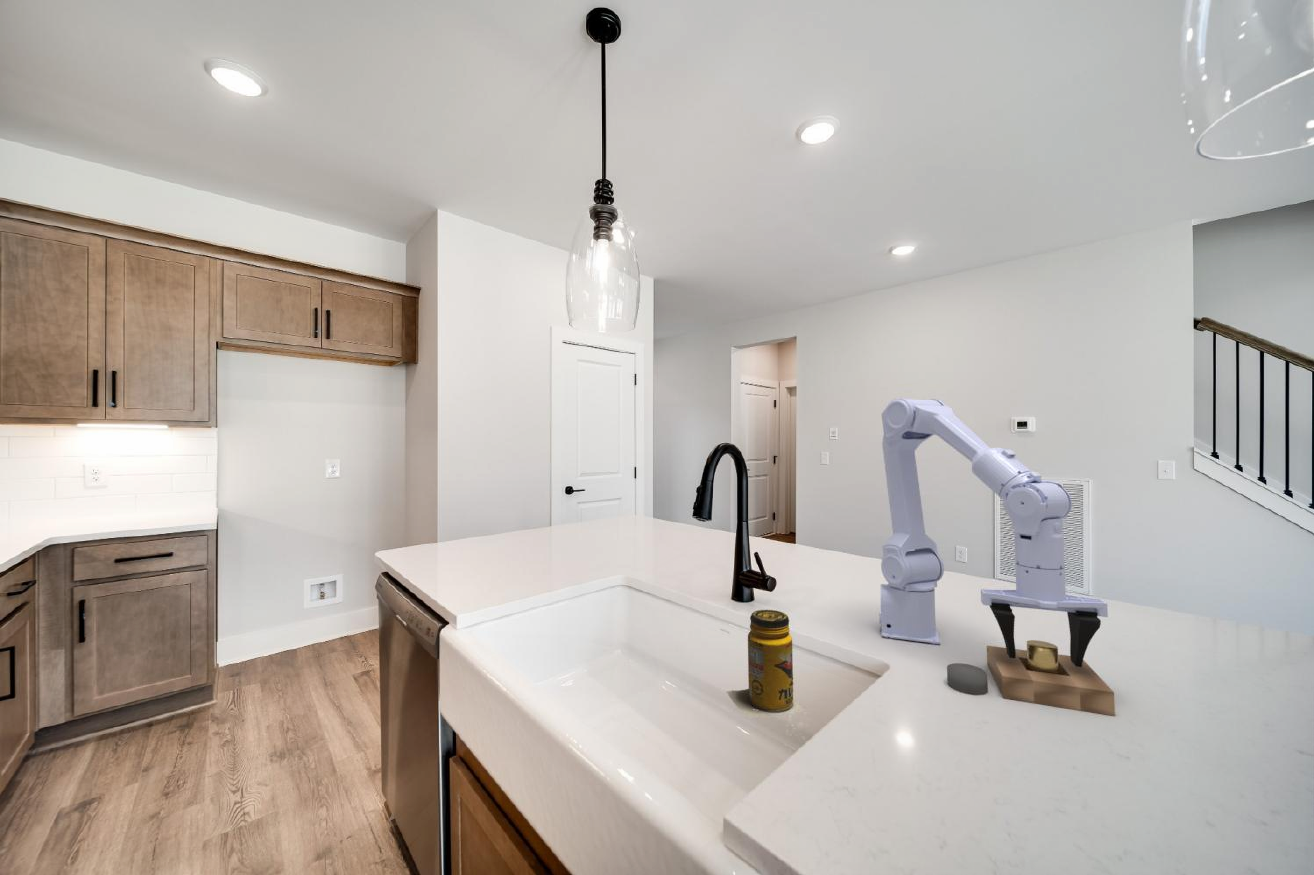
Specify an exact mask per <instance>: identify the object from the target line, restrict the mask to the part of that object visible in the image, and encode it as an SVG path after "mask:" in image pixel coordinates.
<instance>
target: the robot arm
mask: <svg viewBox="0 0 1314 875" xmlns="http://www.w3.org/2000/svg"><path fill="white" fill-rule="evenodd" d="M881 422H882V428H883V436H882V443H881V445H882V452H883V454H882V455H883V461H884V462H883V463H884V470H885V479H886V487H887V493H888V494H887V495H888V503H889V512H890V518H891V528H892V529H891V530H892V535H891V536H890V538H888V539H887V541H886V542H885V543H884V544H883V546H882V559H881V563H880V565H881V566H880V567H881V572H882V576H883V577H884V579H885V581H886V582H887V583H888V584H887V583H886V584H883V583H881V584H880V613H879V614H878V615H879V616H878V617H879V620H878V621H879V624H881V637H883V636H884V637H883V638H888V637H890V638H891V639H897V640H907V641H910V642H911V641H912V642H920V643H927V644H928V643H929V644H935V645H936V644H937V645H940V644H941V639H940V636H939V633H938V629H937V627H936V626H937V625H936V624H937V623H936V622H937V621H936V596H935V594H936V592H935V590H936V588H938V582H939V581H940V580H942V578H943V576H944V574H945V573H944V572H945V567H944V562H943V559H942V558H941V557H940V554H939V551H938V546H937V543H936V541H934V540H933V539H932V538H931V537H929V536H928V535H927V534H926V529H925V528H926V527H925V521H924V514H923V506H922V499H921V490H920V485H919V484H920V483H919V482H920V481H919V477H918V476H919V475H918V468H917V459H916V450H917V449H918V448H919V447H920V445H921V444H922V443H924V442H925V441H927V440H928V439H929V438H931V437H933V436H934V435H935V436H937V437H939V438H940V439H941V440H943V441H944V442H946V444H948V445H949V446H950V447H952V448H953V449H954V450H955V451H956V452H958V453H959V454H960V455H962V456H963V457H965V458H966V459H967V460H968V461H970V463H971V471H972V474H973V475H975V476H976V477H977V478H978V479H979V480H980V481H981V482H982V483H983V484H985V486H987V487H988V488H989V489H990V490H991V491H992V492H994V493H995V494H996V495H997V496H998V497H999V498H1000V499H1002V506H1003V509H1004V511H1005V513H1006V514H1007V515H1008V517H1009V518H1010V521H1011V528H1012V530H1013V532H1014V535H1013V536H1014V560H1015V589H986V588H984V589H983V588H981V589H980V602H981V604H982V605H983V606H987V607H988V606H989V608H990V609H991V612H992V614H993V616H994V617H995V620H996V622H997V625H998V627H999V629H1000V633H1001V634H1002V637H1003V641H1004V645H1005V648H1006V650H1007V654H1008V656H1009V657H1010V658H1015V657H1016V651H1015V649H1016V646H1015V645H1016V643H1015V620H1016V619H1015V618H1016V616H1015V614H1014V613H1013V608H1022V609H1034V610H1043V611H1052V612H1053V611H1054V612H1065V613H1067V614H1066V615H1067V618H1068V620H1067V621H1068V626H1069V627H1068V628H1069V637H1070V639H1069V640H1070V643H1069V645H1070V646H1069V654H1070V655H1069V656H1070V657H1071V662H1072V663H1073V664H1074V665H1075V666H1076V667H1082V663H1083V660H1084V658H1085V654H1086V652H1087V649H1088V646H1089V644H1090V642H1091V641H1092V639H1093V637H1094V636H1095V634H1096V633H1097V632H1098V630H1099V629H1100V628H1101V623H1102V622H1101V619H1100V618H1099V617H1102V618H1108V617H1109V616H1108V615H1109V614H1108V603H1107V602H1106V601H1104V600H1103V599H1100V598H1092V597H1084V596H1083V597H1082V596H1077V595H1071V594H1067V592H1066V589H1067V588H1066V571H1065V570H1066V569H1065V567H1066V566H1065V542H1064V518H1066V517H1067V516H1068V515H1069V514H1070V513H1071V510H1072V505H1073V503H1072V502H1073V500H1072V497H1071V495H1070V493H1069V492H1068V490H1067V489H1065V488H1064V486H1063V485H1062V484H1061V483H1060V482H1056V481H1054V480H1044V479H1042V478H1041V477H1042V475H1041V474H1040V473H1039V472H1037V471H1032V470H1031V469H1030V468H1028V467H1027V466H1026V465H1024V464H1023V463H1022V462H1021V461H1019V460H1018V458H1016V456H1017V454H1016V452H1014V451H1013V450H1012V449H1004V448H1002V447H990V446H989V445H988V444H986V443H985V442H984V441H983V440H982V439H981V438H980V437H979V436H978V435H976V434H975V432H973V431H972V430H971V429H970V427H968V426H967V425H966V424H965V423H964V422H962V420H961V419H959V418H958V417H957V415H955V414H954V409H953V408H951V407H950V406H948V405H946V404H945V403H944V402H943V400H942V401H941V400H940V399H936V398H931V399H914V398H903V397H897V398H894V399H892V400H891V401H890V402H889V403H888V405H887V406H886V407H885V408H884V410H883V411H882V413H881ZM1011 607H1013V608H1011ZM890 638H889V639H890Z"/></svg>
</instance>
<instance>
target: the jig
mask: <svg viewBox="0 0 1314 875" xmlns="http://www.w3.org/2000/svg"><path fill="white" fill-rule="evenodd" d="M1015 651H1016V657H1015V658H1010V657H1009V656H1008V654H1007V650H1006V647H1004V646H1003V647H1001V646H994V645H986V665H987V667H988V669H989V671H990V673H991V675H992V678H993V680H994V681H995V684H996V685H997V688H998V691H999V692H1000V694H1001V696H1002V698H1003V699H1007V700H1013V701H1020V702H1026V703H1032V704H1039V705H1043V706H1044V705H1045V706H1051V707H1056V708H1063V709H1070V710H1075V711H1081V712H1087V713H1088V712H1089V713H1094V714H1100V715H1107V716H1114V717H1115V716H1116V712H1115V710H1116V709H1115V706H1116V705H1115V692H1114V691H1113V689H1112V688H1110V686H1109V685H1108V684H1107V683H1106V682H1105V681H1104V680H1103V679H1102V678H1101V677H1100V676H1099V674H1097V672H1096V671H1095V670H1094V669H1092V667H1091V666H1090V665H1089V664H1088V663H1087V661H1085V660H1084V659H1083V663H1082V667H1076V666H1075V665H1074V664H1073V663H1072V662H1071V657H1070V655H1067V654H1059V653H1058V665H1059V675H1057V674H1050V673H1043V672H1036V671H1029V670H1027V649H1018V648H1015Z"/></svg>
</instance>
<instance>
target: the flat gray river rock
mask: <svg viewBox="0 0 1314 875" xmlns="http://www.w3.org/2000/svg"><path fill="white" fill-rule="evenodd" d="M946 673H947V674H946V675H947V676H946V678H947V679H946V680H947V682H946V683H947V685H948V687H950V689H952V690H954V691H956V692H959V693H962V694H966V695H971V696H984V695H986V694H988V693H989V686H988V685H989V682H988V673H987V671H986V670H984V669H983V668H981V667H978V666H976V665H972V664H967V663H962V662H961V663H960V662H959V663H957V662H955V663H949V664H947V666H946Z"/></svg>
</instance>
